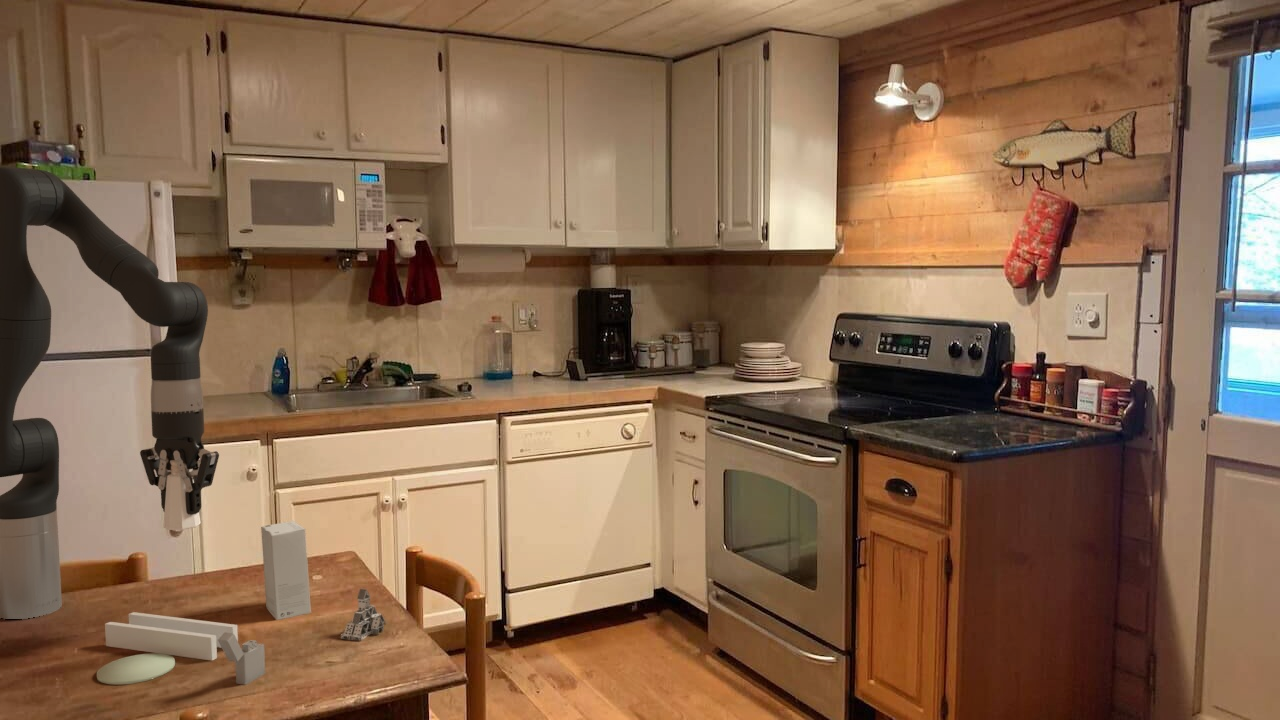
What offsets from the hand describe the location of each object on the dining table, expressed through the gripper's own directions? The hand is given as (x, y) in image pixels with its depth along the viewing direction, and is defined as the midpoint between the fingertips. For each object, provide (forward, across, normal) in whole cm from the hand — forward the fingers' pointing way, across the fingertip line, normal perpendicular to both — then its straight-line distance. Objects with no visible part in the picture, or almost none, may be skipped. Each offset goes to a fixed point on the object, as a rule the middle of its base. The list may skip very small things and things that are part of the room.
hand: (181, 512), depth 152 cm
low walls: (+19, +4, -7) cm, 21 cm away
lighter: (+19, +24, -15) cm, 34 cm away
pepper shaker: (+3, 0, 0) cm, 3 cm away
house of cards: (+20, +32, +5) cm, 38 cm away
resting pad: (+19, +6, -16) cm, 26 cm away
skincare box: (+19, +11, +11) cm, 25 cm away
